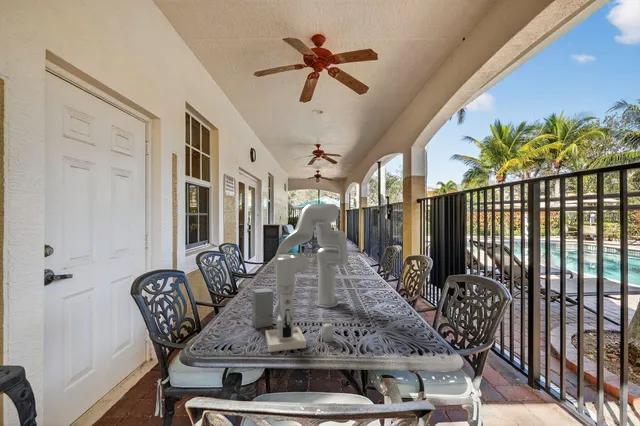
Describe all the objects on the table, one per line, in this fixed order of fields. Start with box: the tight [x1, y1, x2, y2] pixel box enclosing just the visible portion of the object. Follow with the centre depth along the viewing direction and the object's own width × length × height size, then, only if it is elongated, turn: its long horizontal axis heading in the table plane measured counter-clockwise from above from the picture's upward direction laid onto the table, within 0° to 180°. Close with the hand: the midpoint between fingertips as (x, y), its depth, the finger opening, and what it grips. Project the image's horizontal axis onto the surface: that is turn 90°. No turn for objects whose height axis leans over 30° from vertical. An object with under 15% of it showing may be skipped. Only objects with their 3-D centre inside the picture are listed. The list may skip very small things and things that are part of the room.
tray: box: [264, 326, 307, 353], centre depth 117 cm, size 14×14×2 cm
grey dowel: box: [322, 323, 334, 343], centre depth 119 cm, size 4×4×6 cm
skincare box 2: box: [276, 314, 294, 339], centre depth 117 cm, size 6×6×7 cm
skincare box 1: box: [251, 288, 274, 329], centre depth 134 cm, size 8×7×16 cm
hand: (285, 332), depth 117 cm, fingers closed on skincare box 2, 6 cm apart
